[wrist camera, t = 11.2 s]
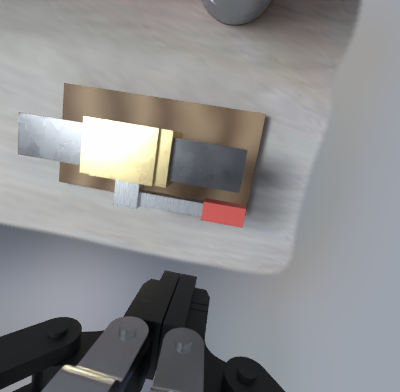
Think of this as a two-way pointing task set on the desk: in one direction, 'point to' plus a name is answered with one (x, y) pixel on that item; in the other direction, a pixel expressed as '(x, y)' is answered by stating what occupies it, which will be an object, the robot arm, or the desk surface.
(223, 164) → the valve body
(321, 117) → the desk surface
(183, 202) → the valve lever
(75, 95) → the base board
